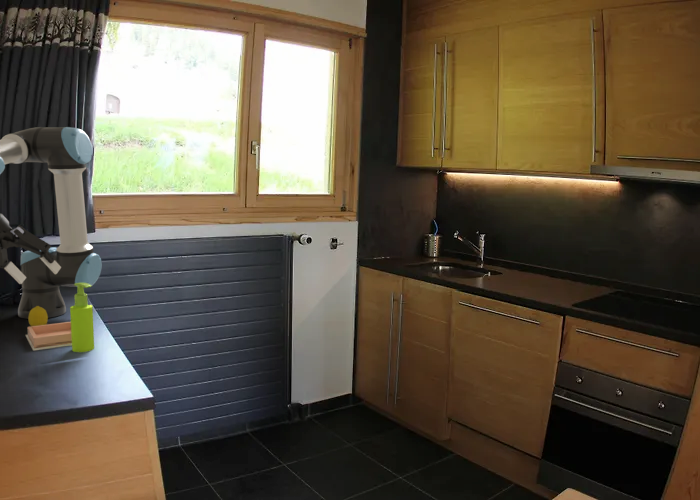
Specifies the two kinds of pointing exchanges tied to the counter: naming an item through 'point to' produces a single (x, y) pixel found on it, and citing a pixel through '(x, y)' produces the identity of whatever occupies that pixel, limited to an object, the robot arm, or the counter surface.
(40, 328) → the dish
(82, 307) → the soap dispenser
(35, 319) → the lemon
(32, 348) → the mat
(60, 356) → the counter surface
